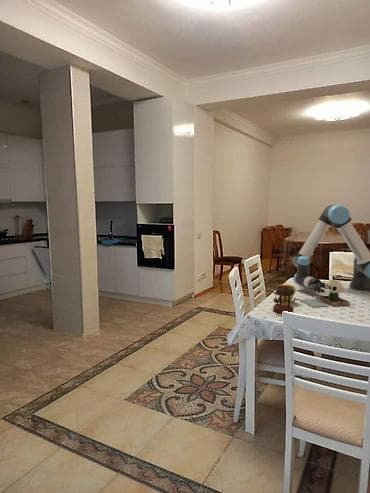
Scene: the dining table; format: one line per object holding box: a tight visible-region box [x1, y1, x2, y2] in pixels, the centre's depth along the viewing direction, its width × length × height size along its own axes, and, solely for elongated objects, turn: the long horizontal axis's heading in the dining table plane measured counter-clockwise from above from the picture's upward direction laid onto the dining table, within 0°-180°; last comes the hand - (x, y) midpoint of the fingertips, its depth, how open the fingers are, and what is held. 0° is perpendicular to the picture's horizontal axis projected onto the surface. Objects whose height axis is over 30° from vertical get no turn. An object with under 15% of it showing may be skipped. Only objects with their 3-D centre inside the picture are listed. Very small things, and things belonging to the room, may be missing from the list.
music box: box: [272, 276, 301, 316], centre depth 187 cm, size 15×11×20 cm
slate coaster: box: [299, 298, 329, 308], centre depth 206 cm, size 10×14×1 cm
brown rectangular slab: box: [317, 295, 350, 307], centre depth 208 cm, size 11×15×2 cm
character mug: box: [324, 279, 345, 302], centre depth 207 cm, size 11×7×13 cm, turn 43°
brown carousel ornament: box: [277, 283, 297, 305], centre depth 207 cm, size 10×10×10 cm
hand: (338, 291), depth 204 cm, fingers open, 13 cm apart
